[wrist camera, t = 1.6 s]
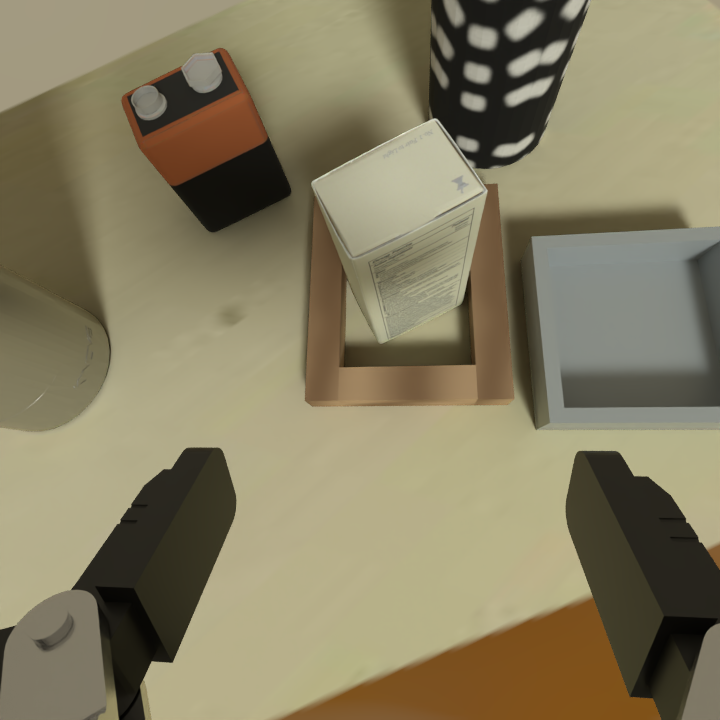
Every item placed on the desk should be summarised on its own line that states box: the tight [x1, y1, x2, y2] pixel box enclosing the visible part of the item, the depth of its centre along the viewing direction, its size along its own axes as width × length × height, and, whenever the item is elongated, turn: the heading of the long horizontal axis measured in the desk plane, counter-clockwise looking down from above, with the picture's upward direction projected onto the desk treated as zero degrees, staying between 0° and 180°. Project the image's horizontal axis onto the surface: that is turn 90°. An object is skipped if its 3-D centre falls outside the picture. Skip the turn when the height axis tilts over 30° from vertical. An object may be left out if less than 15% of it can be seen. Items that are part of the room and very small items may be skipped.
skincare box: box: [311, 118, 488, 344], centre depth 24 cm, size 6×4×12 cm
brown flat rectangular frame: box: [305, 184, 514, 406], centre depth 29 cm, size 12×14×2 cm
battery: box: [122, 48, 291, 232], centre depth 29 cm, size 4×7×10 cm, turn 116°
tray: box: [521, 227, 720, 430], centre depth 26 cm, size 11×11×3 cm
